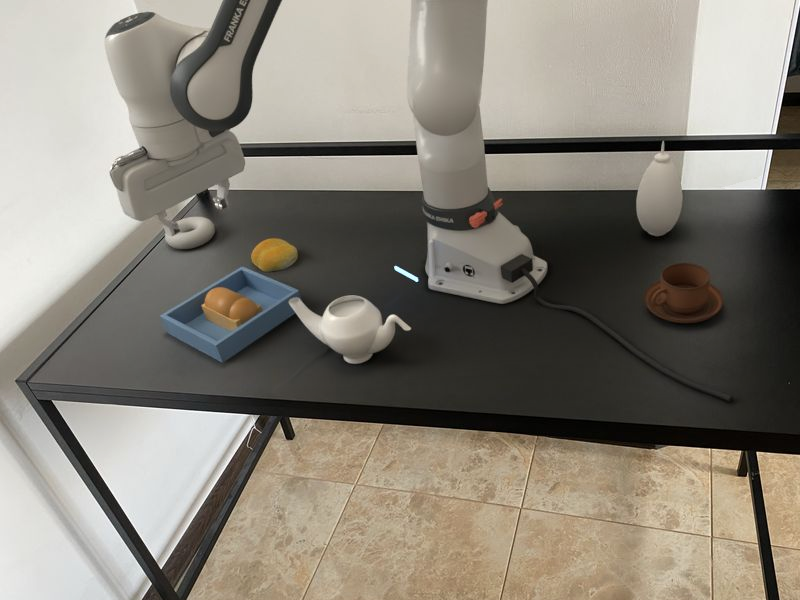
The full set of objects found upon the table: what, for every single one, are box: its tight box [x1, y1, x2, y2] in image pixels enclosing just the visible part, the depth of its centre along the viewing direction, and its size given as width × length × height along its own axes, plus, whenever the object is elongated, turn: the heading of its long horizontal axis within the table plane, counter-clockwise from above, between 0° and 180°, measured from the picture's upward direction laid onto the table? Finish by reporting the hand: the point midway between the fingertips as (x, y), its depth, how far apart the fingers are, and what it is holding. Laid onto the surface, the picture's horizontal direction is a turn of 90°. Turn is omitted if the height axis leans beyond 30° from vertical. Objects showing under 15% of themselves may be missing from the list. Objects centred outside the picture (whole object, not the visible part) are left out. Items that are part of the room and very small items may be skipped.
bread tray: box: [159, 266, 303, 363], centre depth 127 cm, size 16×18×4 cm
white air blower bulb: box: [635, 140, 684, 237], centre depth 132 cm, size 8×8×18 cm
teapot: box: [289, 294, 412, 365], centre depth 115 cm, size 10×20×9 cm, turn 72°
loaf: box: [201, 287, 263, 332], centre depth 127 cm, size 11×5×5 cm, turn 52°
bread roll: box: [250, 237, 299, 273], centre depth 142 cm, size 8×9×4 cm
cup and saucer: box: [643, 262, 724, 324], centre depth 117 cm, size 12×12×6 cm
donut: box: [164, 216, 216, 250], centre depth 153 cm, size 10×4×10 cm
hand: (198, 220), depth 117 cm, fingers open, 8 cm apart
